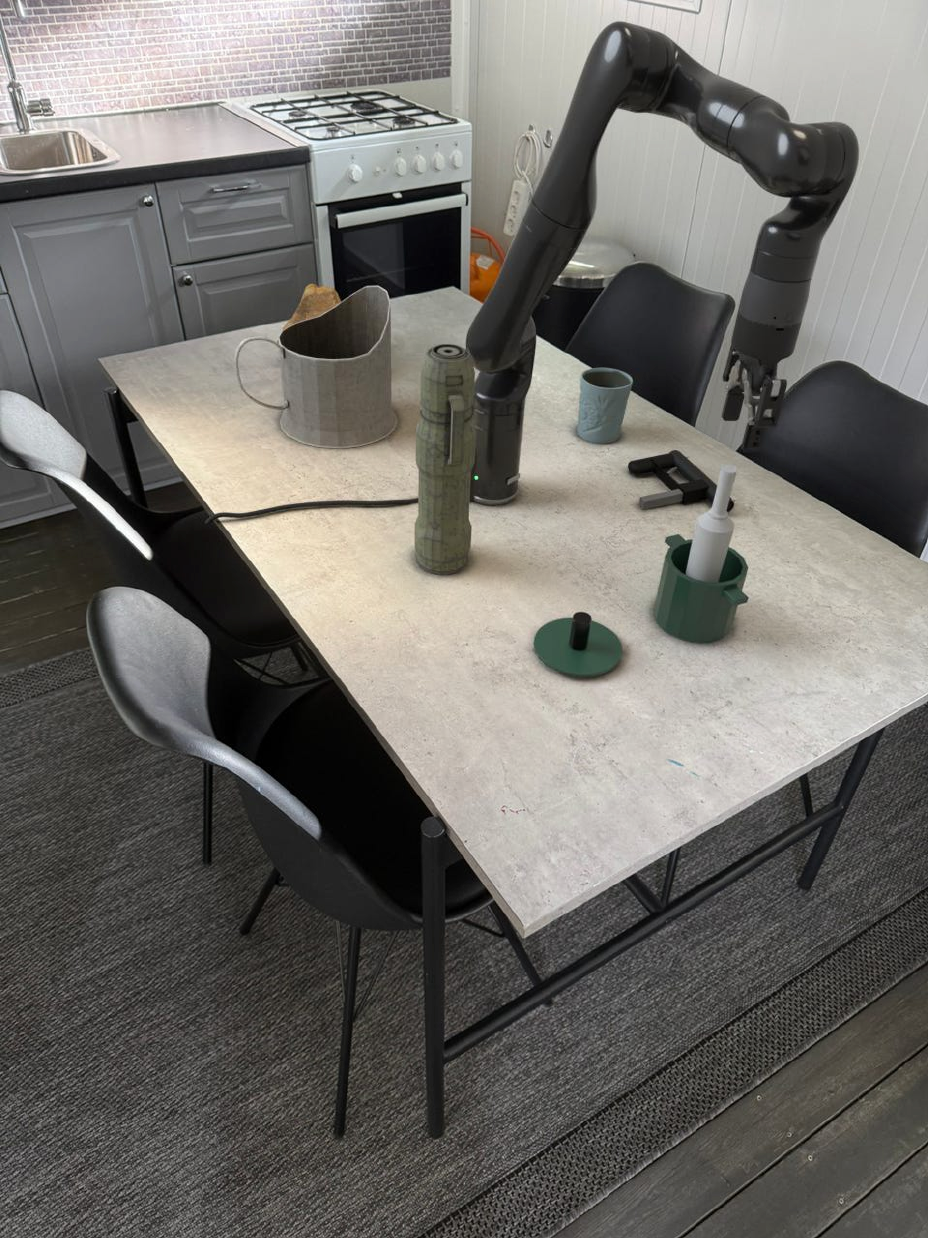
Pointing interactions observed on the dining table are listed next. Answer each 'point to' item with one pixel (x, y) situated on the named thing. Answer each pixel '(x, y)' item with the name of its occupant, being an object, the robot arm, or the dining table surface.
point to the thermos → (445, 460)
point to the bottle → (713, 533)
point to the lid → (578, 646)
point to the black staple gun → (685, 493)
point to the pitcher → (337, 373)
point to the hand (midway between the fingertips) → (739, 434)
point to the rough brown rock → (314, 303)
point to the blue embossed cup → (602, 404)
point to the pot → (698, 596)
